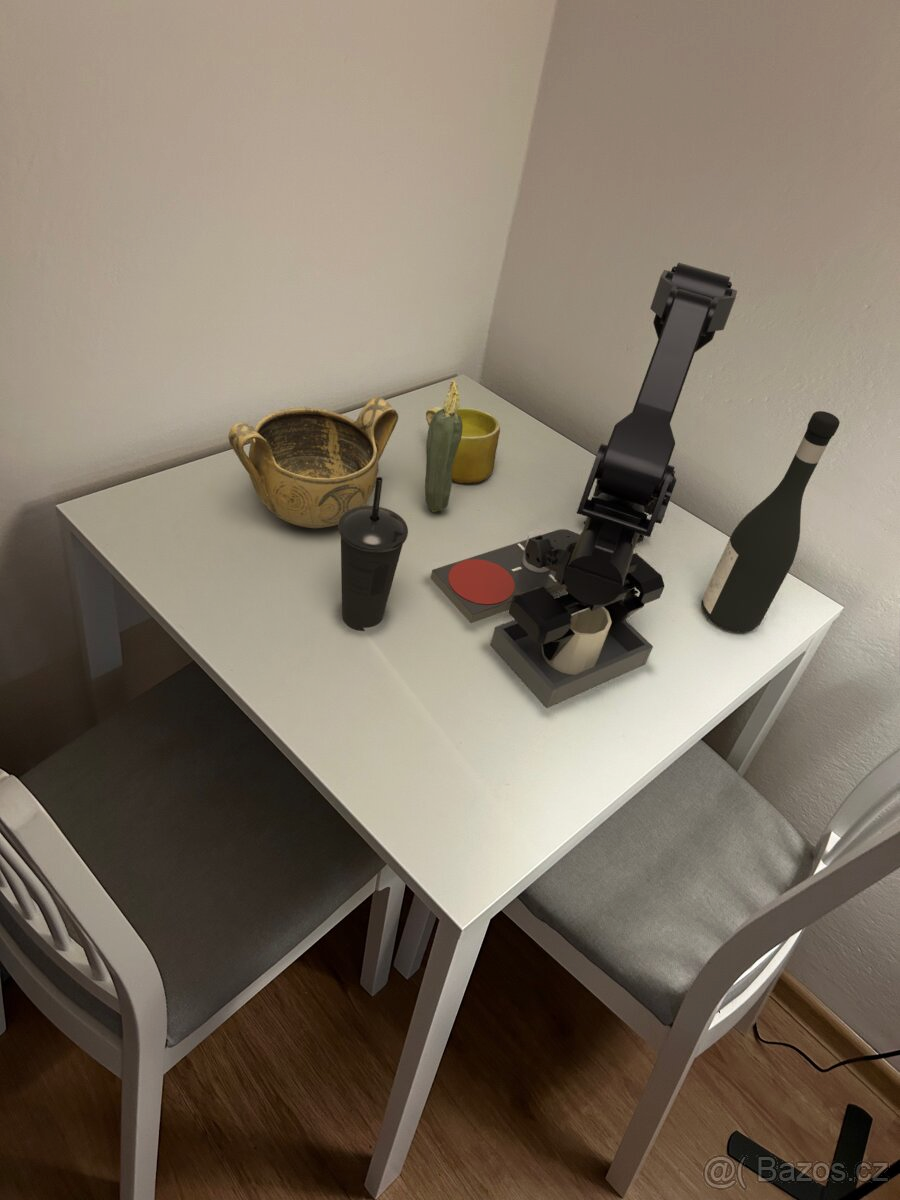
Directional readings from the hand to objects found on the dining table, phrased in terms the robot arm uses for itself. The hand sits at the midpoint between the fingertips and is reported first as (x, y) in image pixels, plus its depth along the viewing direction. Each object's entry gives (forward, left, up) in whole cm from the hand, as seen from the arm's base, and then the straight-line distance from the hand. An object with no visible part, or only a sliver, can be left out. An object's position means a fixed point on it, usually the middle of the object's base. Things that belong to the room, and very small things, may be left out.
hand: (570, 648), depth 106 cm
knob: (-6, -14, 0) cm, 15 cm away
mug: (-10, -39, -2) cm, 41 cm away
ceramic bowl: (+15, -37, -2) cm, 40 cm away
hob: (0, -14, -2) cm, 14 cm away
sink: (0, 0, -2) cm, 2 cm away
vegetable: (0, -30, -2) cm, 31 cm away
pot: (0, 0, -1) cm, 1 cm away
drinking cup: (+19, -16, -2) cm, 25 cm away
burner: (+3, -14, 0) cm, 14 cm away
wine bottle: (-25, +4, -2) cm, 26 cm away
